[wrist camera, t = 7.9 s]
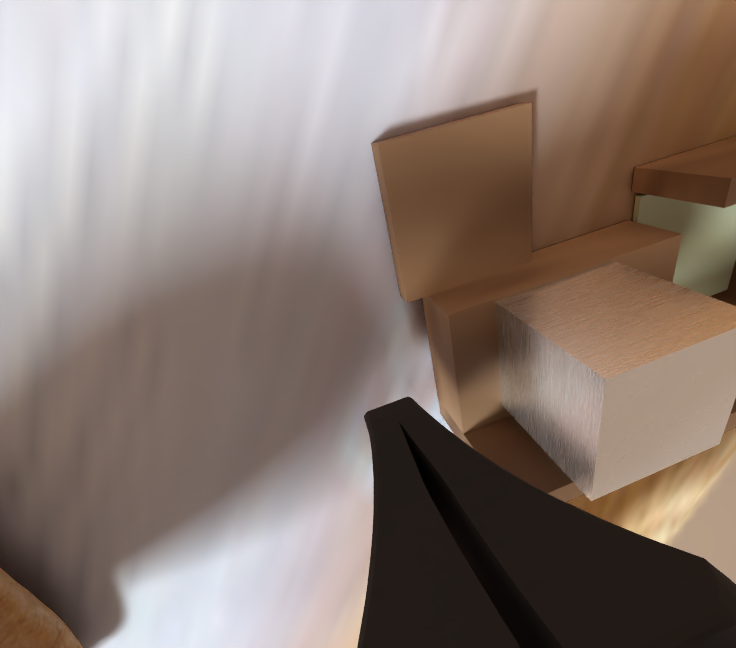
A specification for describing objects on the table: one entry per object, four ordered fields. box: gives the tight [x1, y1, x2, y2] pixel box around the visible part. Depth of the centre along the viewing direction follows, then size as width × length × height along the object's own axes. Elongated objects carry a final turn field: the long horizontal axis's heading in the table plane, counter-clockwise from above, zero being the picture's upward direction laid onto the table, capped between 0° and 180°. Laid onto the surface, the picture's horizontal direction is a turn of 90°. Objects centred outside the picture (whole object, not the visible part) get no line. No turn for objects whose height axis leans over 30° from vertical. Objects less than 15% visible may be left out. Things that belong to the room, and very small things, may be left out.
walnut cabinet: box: [371, 103, 736, 502], centre depth 12 cm, size 10×15×5 cm
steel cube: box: [495, 261, 736, 501], centre depth 11 cm, size 4×4×4 cm
